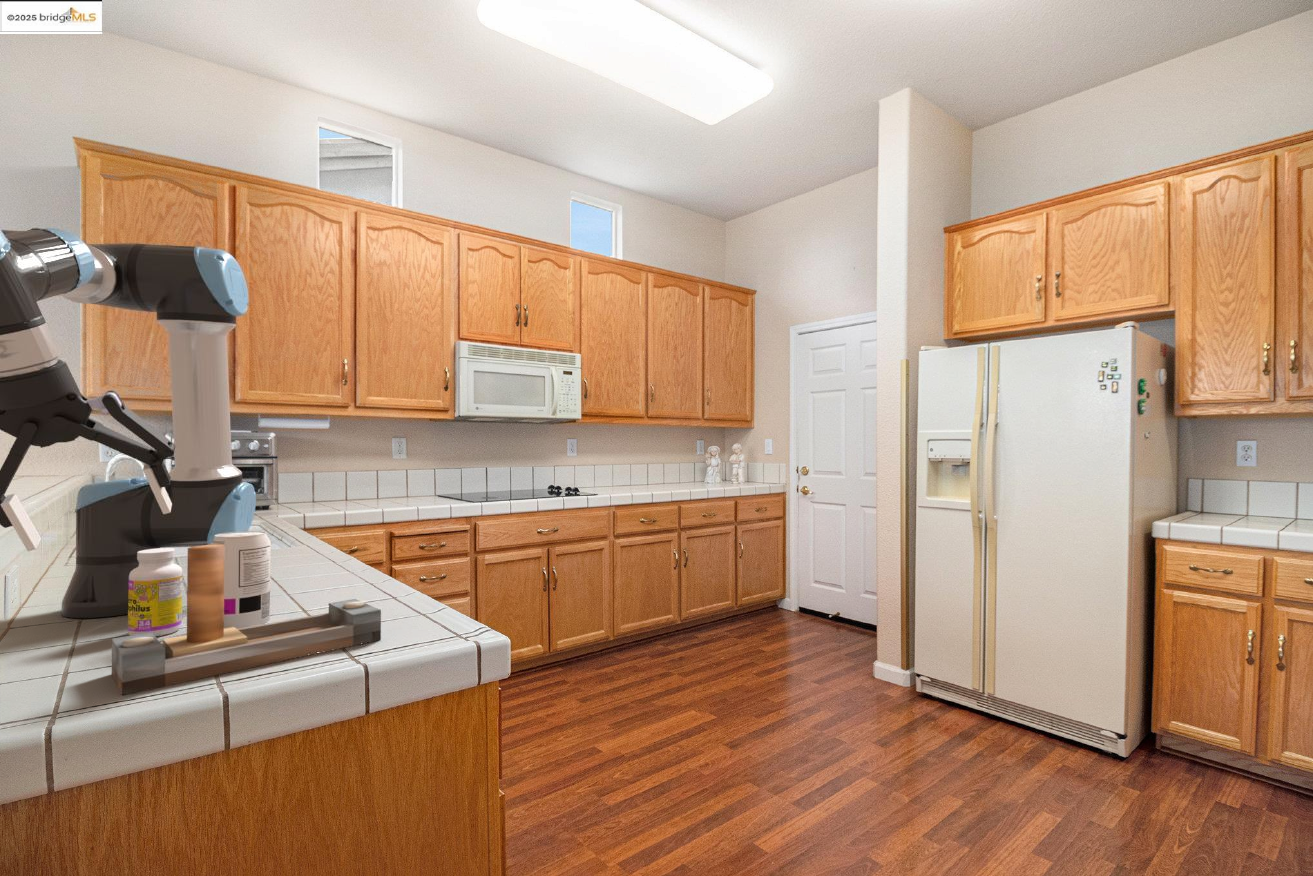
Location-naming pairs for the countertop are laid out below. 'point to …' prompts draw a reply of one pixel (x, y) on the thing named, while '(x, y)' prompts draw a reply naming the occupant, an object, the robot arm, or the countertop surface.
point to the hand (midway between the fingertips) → (103, 526)
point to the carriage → (204, 606)
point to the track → (244, 647)
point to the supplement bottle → (155, 593)
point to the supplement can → (245, 578)
